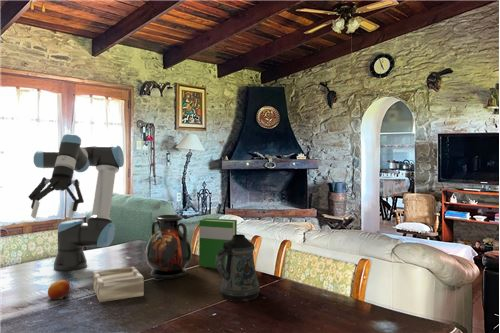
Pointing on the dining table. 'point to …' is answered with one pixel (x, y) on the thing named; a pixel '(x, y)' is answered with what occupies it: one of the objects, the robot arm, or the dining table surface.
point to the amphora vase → (168, 248)
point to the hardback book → (214, 239)
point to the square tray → (118, 284)
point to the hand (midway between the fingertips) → (51, 218)
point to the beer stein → (238, 270)
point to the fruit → (59, 289)
